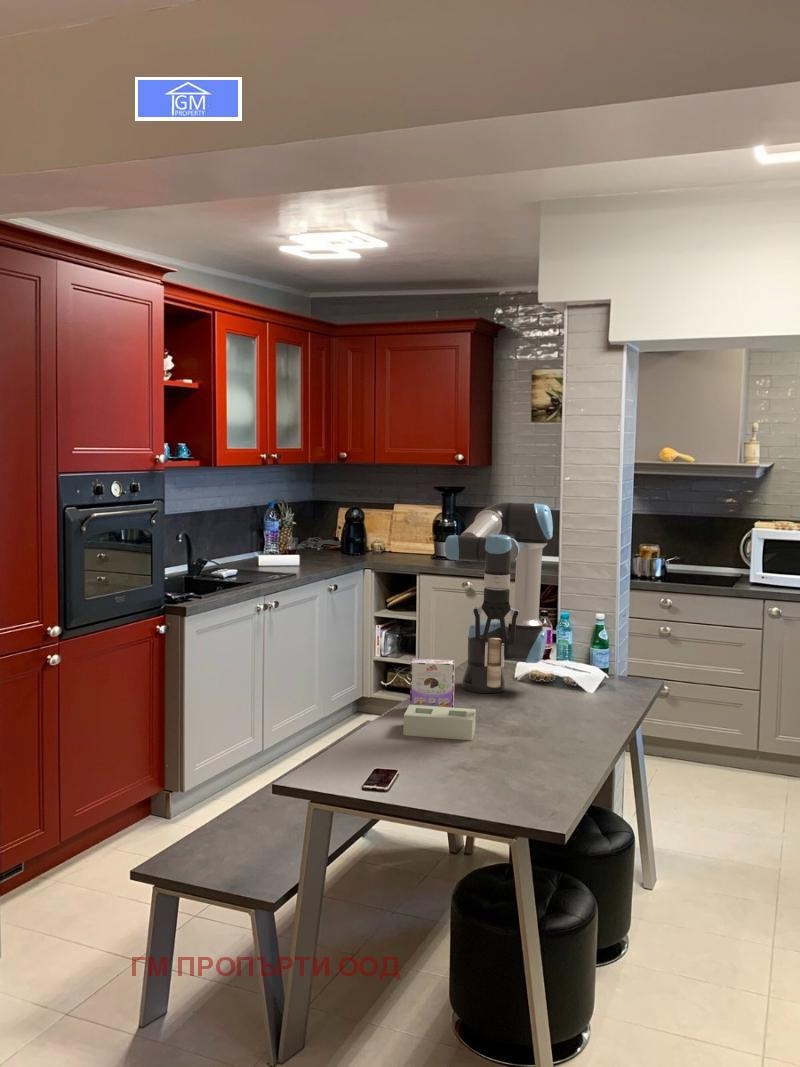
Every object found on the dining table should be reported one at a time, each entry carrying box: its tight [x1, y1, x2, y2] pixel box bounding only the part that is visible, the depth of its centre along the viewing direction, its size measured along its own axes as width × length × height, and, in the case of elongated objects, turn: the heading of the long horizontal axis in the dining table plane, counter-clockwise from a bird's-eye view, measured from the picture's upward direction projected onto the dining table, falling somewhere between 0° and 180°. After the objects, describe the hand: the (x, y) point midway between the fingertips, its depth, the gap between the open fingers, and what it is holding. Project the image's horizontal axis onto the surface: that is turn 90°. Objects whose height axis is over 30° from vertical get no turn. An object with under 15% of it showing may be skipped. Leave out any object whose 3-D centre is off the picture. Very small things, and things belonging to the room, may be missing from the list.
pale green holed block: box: [402, 704, 477, 741], centre depth 281 cm, size 11×20×6 cm, turn 81°
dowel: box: [487, 638, 502, 688], centre depth 281 cm, size 4×4×14 cm
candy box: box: [409, 658, 455, 708], centre depth 300 cm, size 14×6×16 cm, turn 84°
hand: (494, 665), depth 282 cm, fingers closed on dowel, 4 cm apart
